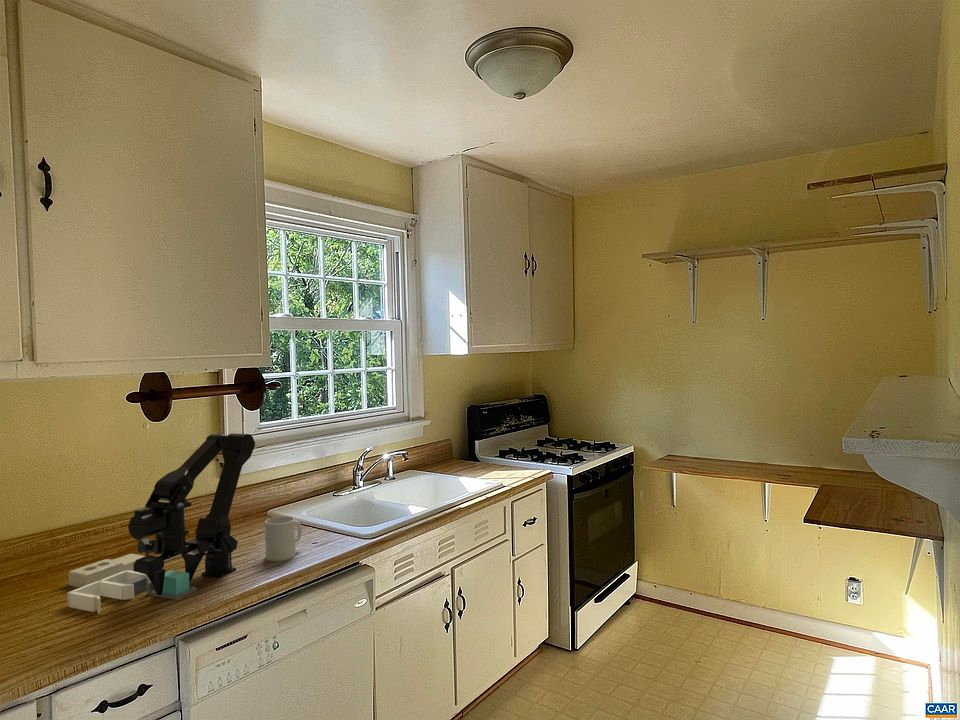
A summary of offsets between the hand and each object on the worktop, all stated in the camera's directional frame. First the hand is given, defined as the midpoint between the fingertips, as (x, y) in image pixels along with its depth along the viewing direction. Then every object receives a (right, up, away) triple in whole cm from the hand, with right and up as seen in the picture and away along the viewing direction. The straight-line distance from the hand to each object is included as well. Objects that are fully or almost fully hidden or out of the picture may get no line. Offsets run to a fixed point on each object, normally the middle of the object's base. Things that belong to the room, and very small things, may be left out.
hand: (174, 588), depth 156 cm
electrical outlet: (-25, -2, +14) cm, 28 cm away
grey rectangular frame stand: (0, -1, 0) cm, 1 cm away
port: (-15, -2, -2) cm, 15 cm away
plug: (0, -1, 0) cm, 1 cm away
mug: (+20, 0, +28) cm, 34 cm away
